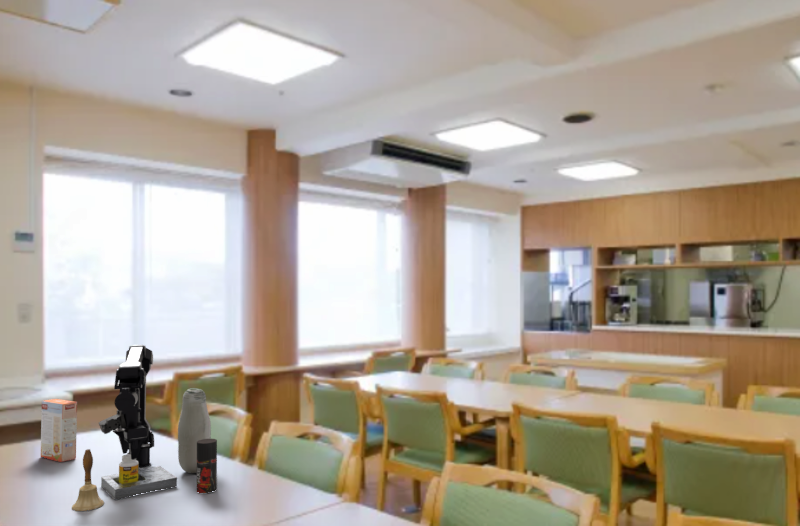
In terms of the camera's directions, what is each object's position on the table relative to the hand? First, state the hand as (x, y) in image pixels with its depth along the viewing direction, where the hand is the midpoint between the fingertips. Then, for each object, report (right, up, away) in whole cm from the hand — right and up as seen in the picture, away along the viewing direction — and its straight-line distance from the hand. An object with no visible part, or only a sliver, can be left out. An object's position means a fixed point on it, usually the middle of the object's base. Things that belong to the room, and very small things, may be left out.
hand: (129, 456), depth 190 cm
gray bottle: (+15, -11, +17) cm, 25 cm away
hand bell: (-5, -10, -15) cm, 19 cm away
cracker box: (-41, -12, +35) cm, 55 cm away
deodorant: (+25, -10, -2) cm, 27 cm away
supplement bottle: (0, -10, 0) cm, 10 cm away
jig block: (+2, -10, +2) cm, 10 cm away
